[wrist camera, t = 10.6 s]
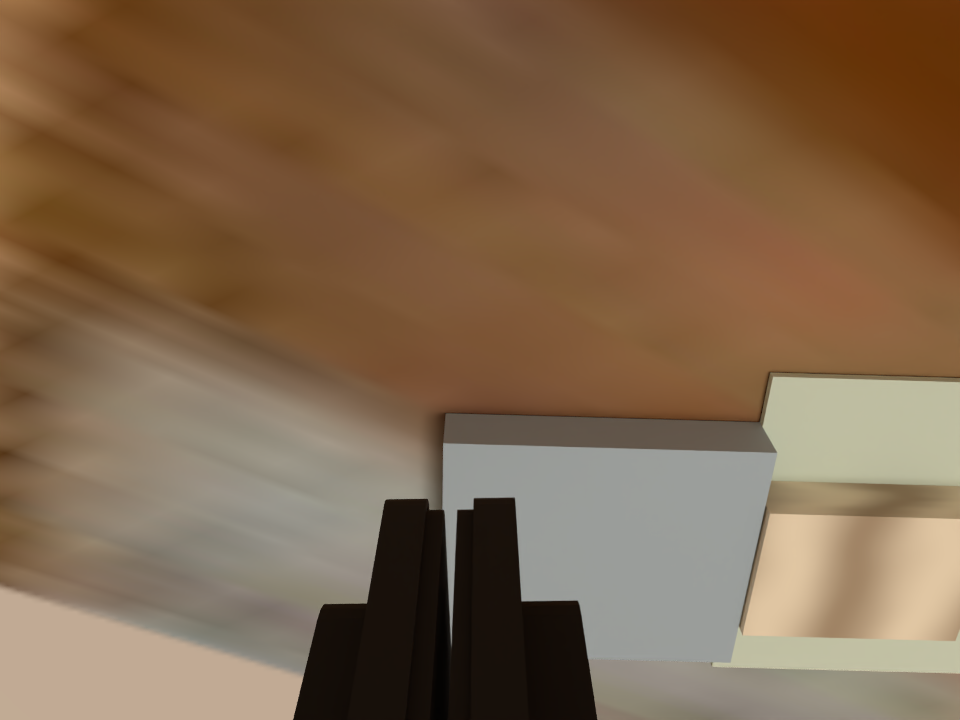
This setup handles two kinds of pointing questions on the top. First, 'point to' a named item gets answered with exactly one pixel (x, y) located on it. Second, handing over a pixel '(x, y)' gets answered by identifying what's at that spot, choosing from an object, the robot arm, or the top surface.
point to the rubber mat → (859, 459)
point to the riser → (622, 521)
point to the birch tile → (856, 562)
